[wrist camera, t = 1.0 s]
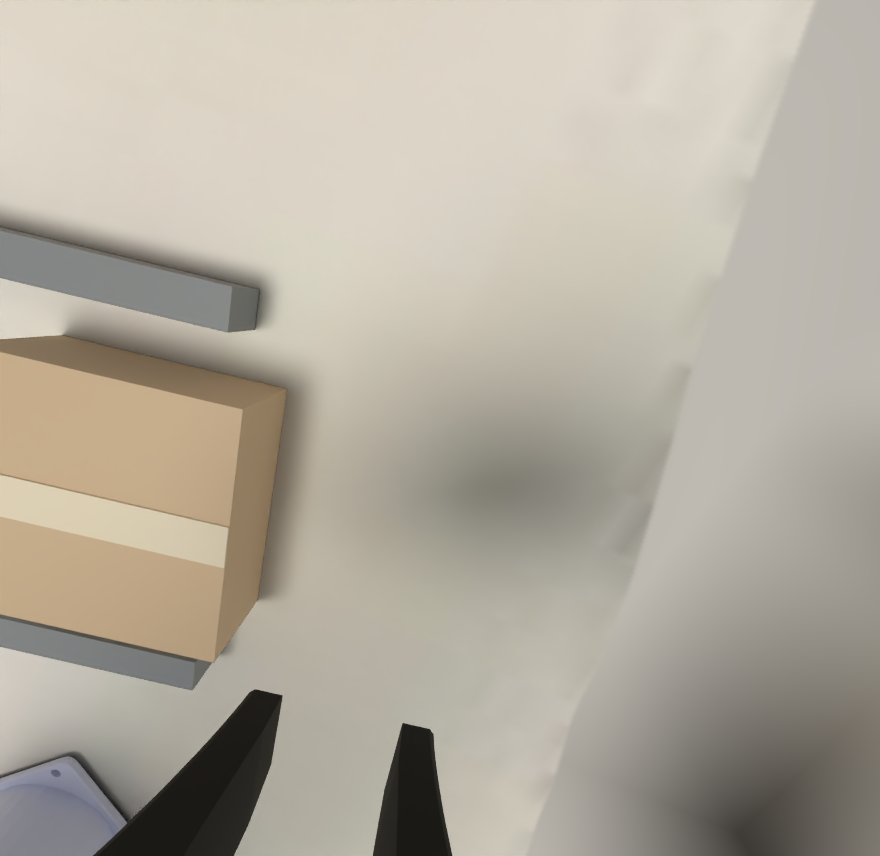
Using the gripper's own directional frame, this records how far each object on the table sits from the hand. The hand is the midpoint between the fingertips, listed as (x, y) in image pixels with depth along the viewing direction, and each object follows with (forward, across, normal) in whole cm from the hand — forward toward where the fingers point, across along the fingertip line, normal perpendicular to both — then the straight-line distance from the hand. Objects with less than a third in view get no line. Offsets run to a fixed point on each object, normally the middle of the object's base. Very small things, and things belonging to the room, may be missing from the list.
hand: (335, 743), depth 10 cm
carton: (+10, +10, 0) cm, 14 cm away
